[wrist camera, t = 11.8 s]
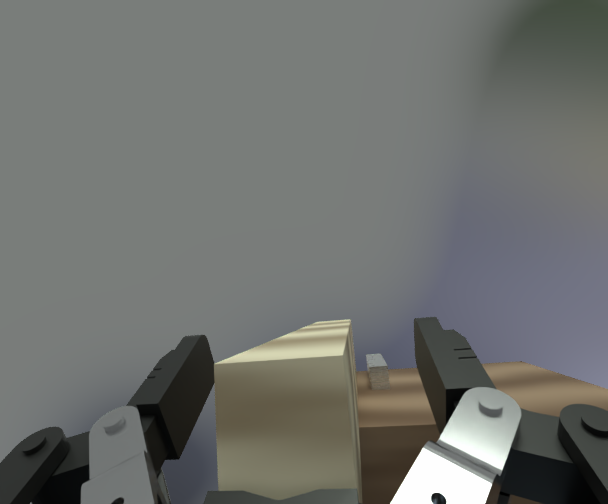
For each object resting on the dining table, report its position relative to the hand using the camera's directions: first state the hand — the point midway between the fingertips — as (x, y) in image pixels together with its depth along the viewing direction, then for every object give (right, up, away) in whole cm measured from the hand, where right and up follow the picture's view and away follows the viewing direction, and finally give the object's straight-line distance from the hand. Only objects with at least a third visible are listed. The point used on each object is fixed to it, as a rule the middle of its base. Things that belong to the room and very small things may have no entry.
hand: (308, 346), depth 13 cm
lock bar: (+1, -5, +5) cm, 7 cm away
